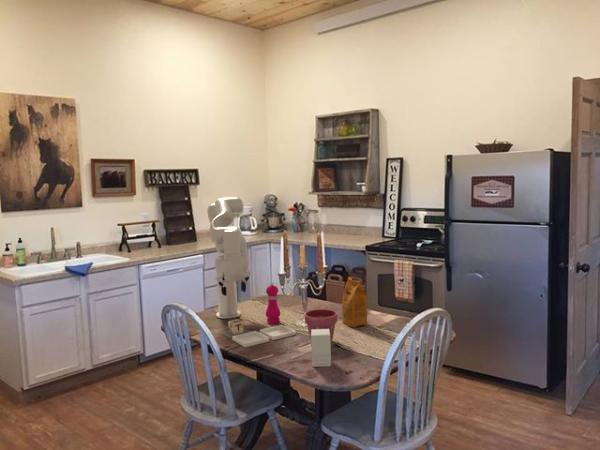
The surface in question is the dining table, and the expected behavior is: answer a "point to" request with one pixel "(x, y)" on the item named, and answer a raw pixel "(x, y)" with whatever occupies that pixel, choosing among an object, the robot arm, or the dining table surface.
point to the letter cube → (235, 326)
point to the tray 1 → (250, 338)
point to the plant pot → (321, 320)
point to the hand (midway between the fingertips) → (234, 293)
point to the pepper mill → (272, 305)
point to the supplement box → (321, 347)
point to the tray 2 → (277, 332)
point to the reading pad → (234, 334)
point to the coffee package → (354, 304)
